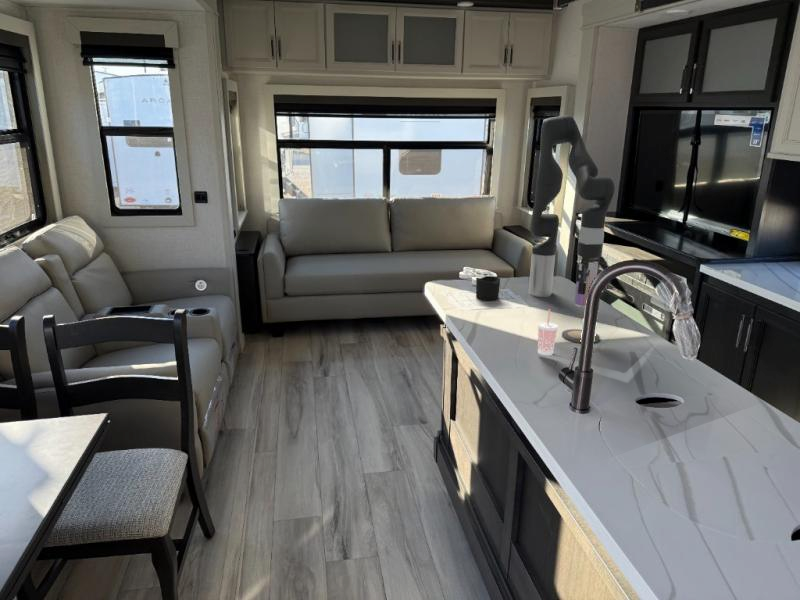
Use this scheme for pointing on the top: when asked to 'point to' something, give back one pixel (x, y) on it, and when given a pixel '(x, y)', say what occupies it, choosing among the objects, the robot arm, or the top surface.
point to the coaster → (575, 335)
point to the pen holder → (487, 288)
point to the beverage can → (579, 298)
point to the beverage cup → (546, 336)
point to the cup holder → (474, 274)
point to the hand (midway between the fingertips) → (585, 291)
